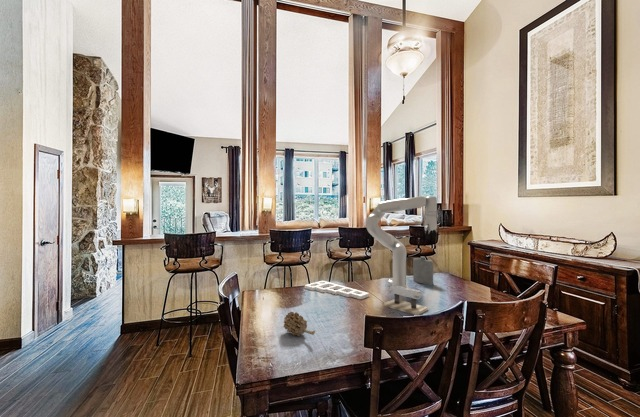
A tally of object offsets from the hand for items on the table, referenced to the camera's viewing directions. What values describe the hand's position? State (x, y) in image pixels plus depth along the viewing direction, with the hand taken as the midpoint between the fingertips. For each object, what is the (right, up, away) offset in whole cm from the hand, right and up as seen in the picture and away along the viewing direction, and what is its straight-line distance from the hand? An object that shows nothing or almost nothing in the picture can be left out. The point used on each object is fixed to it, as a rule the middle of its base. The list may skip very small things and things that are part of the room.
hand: (431, 238), depth 214 cm
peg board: (-28, -38, -35) cm, 58 cm away
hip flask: (+1, -36, +19) cm, 41 cm away
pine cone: (-87, -39, -71) cm, 119 cm away
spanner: (-28, -30, -35) cm, 54 cm away
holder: (-67, -38, -2) cm, 77 cm away
